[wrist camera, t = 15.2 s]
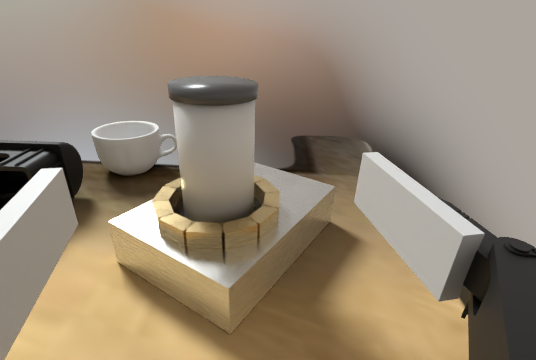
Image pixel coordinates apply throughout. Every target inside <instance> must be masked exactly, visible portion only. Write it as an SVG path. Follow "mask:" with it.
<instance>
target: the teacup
mask: <svg viewBox="0 0 536 360" xmlns="http://www.w3.org/2000/svg"><path fill="white" fill-rule="evenodd" d="M91 134H92V138H93V141H94V145H95V148H96V151H97V154H98V157H99V159H100V161H101V163H102V164H103V165H104V166H105V167H106V168H107V169H108V170H110V171H112V172H114V173H117V174H119V175H137V174H141V173H144V172H146V171H148V170H149V169H150V168H151V167H153V166H154V165H155V163H156V162H157V160H158V159H159V158H160V157H162V156H165V155H168V154H170V153H172V152H173V151H175V150H176V148H177V139H176V138H175V136H173V135H171V134H164V135H161V136H160V135H159V127H158V125H156V124H154V123H150V122H144V121H124V122H116V123H111V124H106V125H103V126H100V127H97V128H95V129H94V130H93V131H92V132H91ZM166 138H172V139H173V140H174V142H175V146H174V147H173V148H172V149H170V150H167V151H161V150H160V146H161V144H162V142H163V141H164V140H165V139H166Z"/></svg>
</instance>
